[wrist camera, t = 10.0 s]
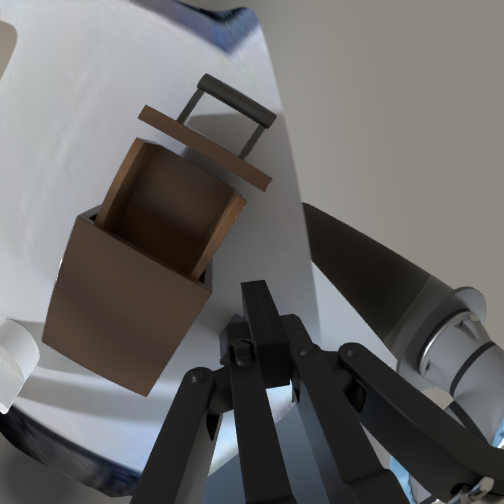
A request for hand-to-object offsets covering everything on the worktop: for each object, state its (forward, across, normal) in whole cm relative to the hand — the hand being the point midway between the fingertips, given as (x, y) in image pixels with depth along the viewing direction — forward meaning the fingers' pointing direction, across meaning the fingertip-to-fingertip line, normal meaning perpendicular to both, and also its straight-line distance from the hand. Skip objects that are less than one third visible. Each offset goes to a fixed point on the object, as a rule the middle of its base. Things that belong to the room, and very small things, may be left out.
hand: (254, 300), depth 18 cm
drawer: (+13, -4, +7) cm, 16 cm away
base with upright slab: (+15, -37, -12) cm, 41 cm away
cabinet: (+14, -12, -3) cm, 19 cm away
